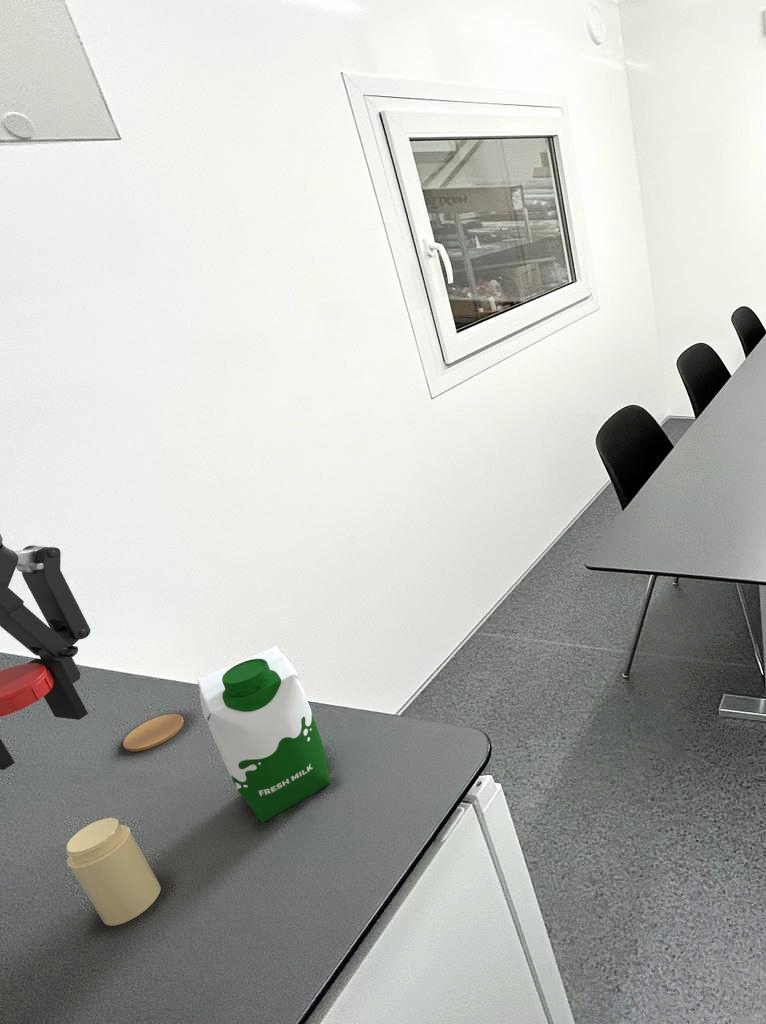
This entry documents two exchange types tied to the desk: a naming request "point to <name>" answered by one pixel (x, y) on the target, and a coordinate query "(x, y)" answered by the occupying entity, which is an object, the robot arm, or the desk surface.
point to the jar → (112, 871)
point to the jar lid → (23, 686)
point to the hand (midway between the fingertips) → (35, 738)
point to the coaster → (153, 732)
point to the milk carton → (265, 732)
